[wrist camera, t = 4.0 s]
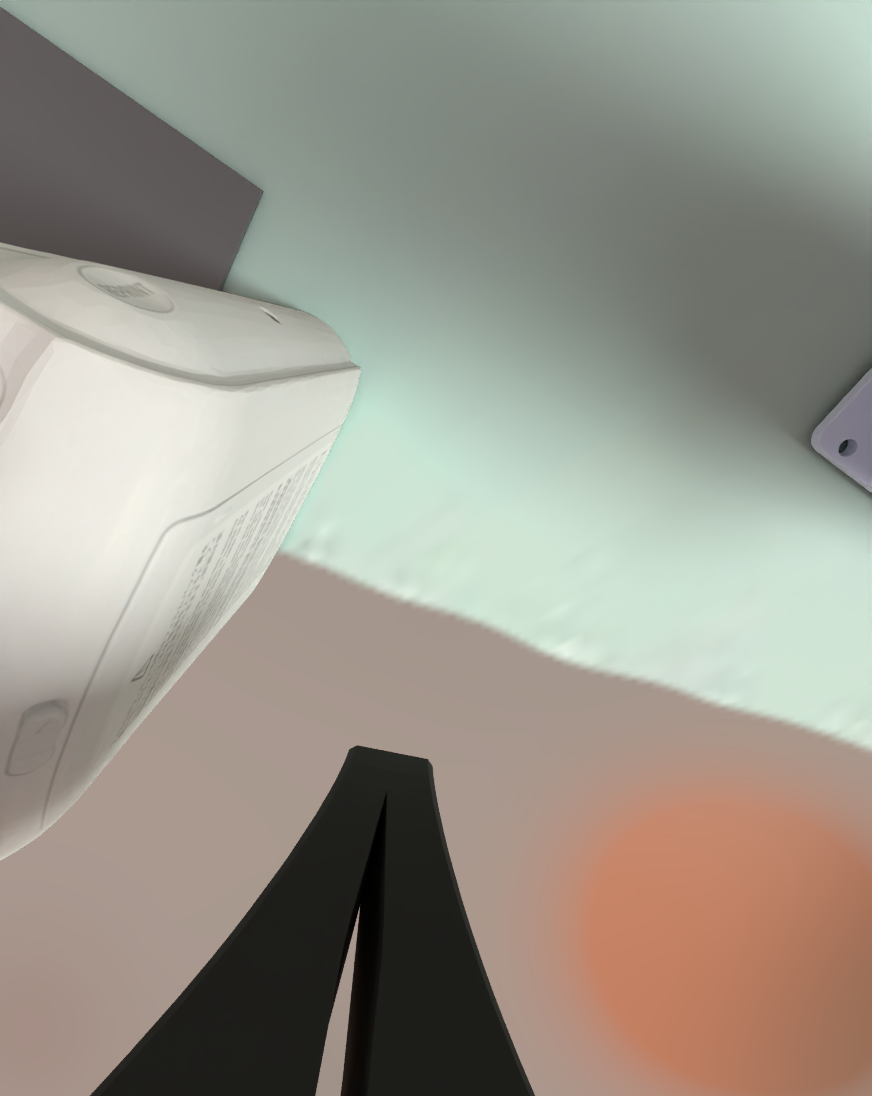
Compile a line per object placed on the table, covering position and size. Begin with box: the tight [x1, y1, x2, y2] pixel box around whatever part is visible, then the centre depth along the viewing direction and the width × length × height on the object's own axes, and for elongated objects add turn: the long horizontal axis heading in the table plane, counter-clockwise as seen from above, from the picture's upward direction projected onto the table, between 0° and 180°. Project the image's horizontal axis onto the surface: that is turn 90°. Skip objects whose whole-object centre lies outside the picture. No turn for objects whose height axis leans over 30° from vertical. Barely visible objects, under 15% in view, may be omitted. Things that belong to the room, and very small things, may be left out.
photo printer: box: [0, 242, 362, 860], centre depth 11 cm, size 10×4×12 cm, turn 149°
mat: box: [0, 7, 263, 291], centre depth 16 cm, size 9×14×1 cm, turn 147°
